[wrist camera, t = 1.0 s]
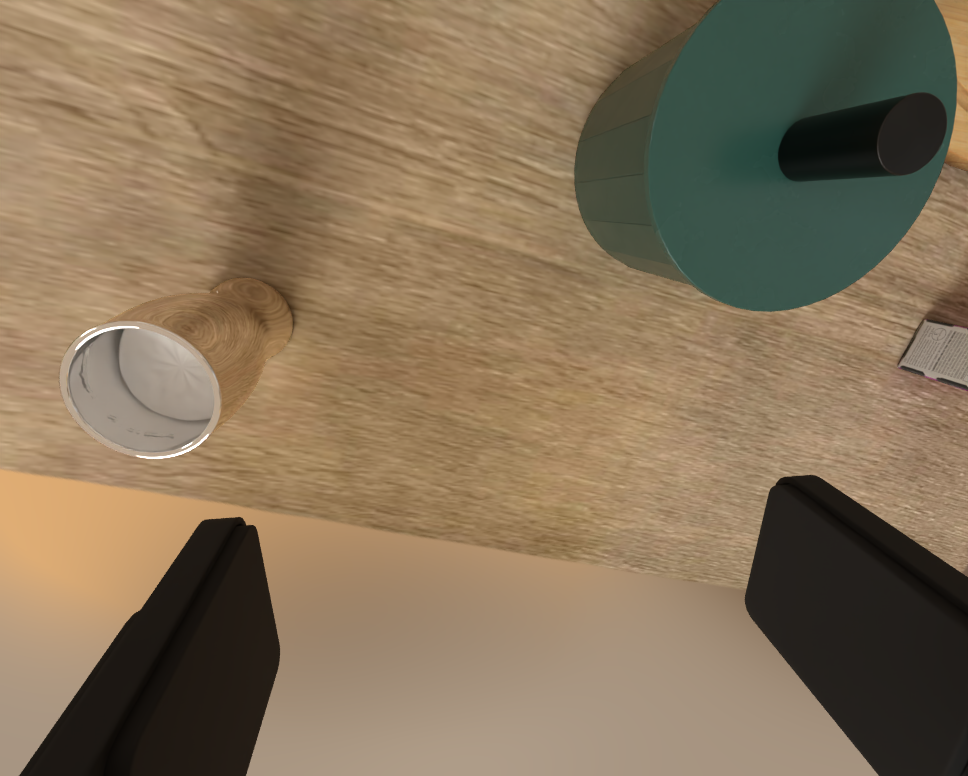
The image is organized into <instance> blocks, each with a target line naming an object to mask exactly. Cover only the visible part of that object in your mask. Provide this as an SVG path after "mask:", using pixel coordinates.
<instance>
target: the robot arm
mask: <svg viewBox="0 0 968 776" xmlns="http://www.w3.org/2000/svg"><path fill="white" fill-rule="evenodd" d="M745 604H746V608H747V611H748V613H749V615H750V617H751V618H752V619H753V621H754V622H755V623H756V624H757V625H758V627H759V628H760V629H761V630H762V632H763V633H764V634H765V636H766V637H767V638H768V639H769V641H770V642H771V643H772V644H773V645H774V647H775V648H776V649H777V650H778V651H779V653H780V654H781V655H782V657H783V658H784V659H785V660H786V661H787V663H788V664H789V665H790V666H791V667H792V669H793V670H794V671H795V673H796V674H797V675H798V676H799V678H800V679H801V680H802V681H803V682H804V684H805V685H806V686H807V687H808V689H809V690H810V691H811V692H812V694H813V695H814V696H815V697H816V698H817V700H818V701H819V702H820V703H821V705H822V706H823V707H824V708H825V710H826V711H827V712H828V713H829V715H830V716H831V717H832V718H833V719H834V720H835V722H836V723H837V724H838V726H839V727H840V728H841V729H842V731H843V732H844V733H845V734H846V735H847V737H848V738H849V739H850V740H851V742H852V743H853V744H854V745H855V747H856V748H857V749H858V750H859V751H860V753H861V754H862V755H863V757H864V758H865V759H866V760H867V761H868V763H869V764H870V765H871V766H872V768H873V769H874V770H875V771H876V773H877V774H878V775H879V776H968V577H967V576H965V575H964V574H962V573H961V572H959V571H958V570H956V569H955V568H953V567H952V566H950V565H949V564H947V563H946V562H944V561H943V560H941V559H940V558H939V557H937V556H936V555H934V554H933V553H931V552H930V551H928V550H927V549H925V548H924V547H922V546H921V545H919V544H918V543H916V542H915V541H913V540H912V539H910V538H909V537H907V536H906V535H904V534H903V533H901V532H900V531H899V530H897V529H896V528H894V527H893V526H891V525H890V524H888V523H887V522H885V521H884V520H882V519H881V518H879V517H878V516H876V515H875V514H873V513H872V512H870V511H869V510H867V509H866V508H864V507H863V506H861V505H860V504H859V503H857V502H856V501H854V500H853V499H851V498H850V497H848V496H847V495H845V494H844V493H842V492H841V491H839V490H838V489H836V488H835V487H833V486H832V485H830V484H829V483H827V482H826V481H824V480H823V479H821V478H820V477H817V476H815V475H805V476H792V477H783V478H781V479H779V481H778V482H777V483H776V486H773V487H772V488H771V489H770V492H769V495H768V499H767V504H766V508H765V512H764V517H763V521H762V525H761V530H760V534H759V538H758V542H757V547H756V551H755V555H754V560H753V564H752V568H751V573H750V577H749V581H748V586H747V590H746V595H745ZM279 659H280V645H279V639H278V635H277V629H276V624H275V619H274V614H273V609H272V604H271V599H270V593H269V589H268V583H267V578H266V573H265V568H264V563H263V557H262V553H261V547H260V543H259V537H258V532H257V529H256V527H255V526H254V525H246V523H245V521H244V520H243V518H241V517H235V518H221V519H209V520H204V521H202V522H201V523H200V524H199V526H198V527H197V528H196V530H195V531H194V533H193V534H192V536H191V537H190V539H189V540H188V542H187V543H186V544H185V546H184V548H183V549H182V550H181V552H180V553H179V555H178V556H177V558H176V559H175V560H174V562H173V564H172V565H171V566H170V568H169V569H168V571H167V572H166V574H165V575H164V577H163V578H162V580H161V581H160V582H159V584H158V585H157V587H156V588H155V590H154V591H153V593H152V594H151V596H150V597H149V599H148V600H147V601H146V603H145V604H144V606H143V607H142V609H141V610H140V611H138V612H136V613H135V614H133V615H132V616H131V618H130V619H129V620H128V621H127V622H126V623H125V625H124V626H123V628H122V629H121V631H120V632H119V633H118V635H117V636H116V638H115V639H114V641H113V642H112V643H111V645H110V646H109V648H108V649H107V651H106V652H105V653H104V655H103V656H102V658H101V659H100V661H99V662H98V664H97V665H96V666H95V668H94V669H93V671H92V672H91V674H90V675H89V676H88V678H87V679H86V681H85V682H84V684H83V685H82V686H81V688H80V689H79V691H78V692H77V694H76V695H75V696H74V698H73V699H72V701H71V702H70V704H69V705H68V707H67V708H66V710H65V711H64V712H63V714H62V715H61V717H60V718H59V719H58V721H57V722H56V724H55V725H54V727H53V728H52V729H51V731H50V732H49V734H48V735H47V737H46V738H45V739H44V741H43V742H42V744H41V745H40V747H39V748H38V750H37V751H36V752H35V754H34V755H33V757H32V758H31V759H30V761H29V762H28V764H27V765H26V767H25V768H24V770H23V771H22V772H21V774H20V775H19V776H246V774H247V770H248V767H249V763H250V760H251V757H252V753H253V750H254V747H255V744H256V740H257V737H258V733H259V730H260V727H261V724H262V720H263V717H264V714H265V710H266V707H267V704H268V700H269V697H270V694H271V690H272V687H273V684H274V681H275V677H276V674H277V670H278V666H279Z"/></svg>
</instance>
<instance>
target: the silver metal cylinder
mask: <svg viewBox="0 0 968 776" xmlns="http://www.w3.org/2000/svg"><path fill="white" fill-rule="evenodd" d="M292 330H293V319H292V314H291V311H290V308H289V306H288V304H287V302H286V301H285V299H284V298H283V297H282V295H281V294H280V293H279V292H278V291H277V290H275V289H274V288H273V287H271V286H270V285H268V284H266V283H264V282H262V281H259V280H256V279H252V278H233V279H229V280H226V281H224V282H222V283H220V284H219V285H217V286H216V287H215V288H214V289H213V290H212V291H211V292H210V293H188V294H178V295H170V296H165V297H162V298H158V299H155V300H152V301H148V302H145V303H142V304H140V305H138V306H135V307H133V308H131V309H128V310H126V311H124V312H122V313H120V314H119V315H117V316H115V317H113V318H111V319H109V320H108V321H106V322H104V323H102V324H100V325H98V326H95V327H93V328H91V329H89V330H87V331H85V332H84V333H82V334H81V335H80V336H79V337H77V338H76V339H75V340H74V341H73V342H72V344H71V345H70V346H69V347H68V349H67V351H66V352H65V354H64V356H63V359H62V362H61V365H60V371H59V384H60V391H61V394H62V398H63V401H64V403H65V405H66V407H67V409H68V411H69V413H70V414H71V416H72V417H73V419H74V420H75V421H76V422H77V424H78V425H79V426H80V427H81V428H82V429H83V430H84V431H85V432H86V433H87V434H89V435H90V436H91V437H92V438H94V439H95V440H96V441H98V442H99V443H101V444H103V445H105V446H106V447H108V448H110V449H113V450H115V451H117V452H120V453H123V454H126V455H130V456H134V457H139V458H148V459H161V458H169V457H174V456H178V455H181V454H184V453H187V452H189V451H191V450H193V449H194V448H196V447H198V446H199V445H200V444H202V443H203V442H204V441H205V440H206V439H207V438H208V437H209V436H210V435H211V434H212V433H213V432H215V431H216V430H217V429H218V428H219V427H221V426H222V425H223V424H224V423H225V422H226V421H228V420H229V419H230V418H231V417H232V416H233V415H234V414H235V413H236V412H237V411H238V410H239V409H240V408H241V407H242V405H243V404H244V403H245V402H246V400H247V399H248V398H249V396H250V395H251V394H252V392H253V391H254V389H255V387H256V385H257V383H258V381H259V379H260V377H261V375H262V372H263V369H264V366H265V363H266V360H267V359H269V358H271V357H273V356H274V355H276V354H278V353H279V352H280V351H281V350H282V349H283V348H284V347H285V346H286V345H287V343H288V342H289V340H290V337H291V334H292Z"/></svg>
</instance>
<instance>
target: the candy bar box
mask: <svg viewBox="0 0 968 776" xmlns="http://www.w3.org/2000/svg"><path fill="white" fill-rule="evenodd" d="M898 368H900V369H903V370H906V371H909V372H912V373H915V374H918V375H921V376H924V377H927V378H930V379H933V380H936V381H939V382H942V383H945V384H948V385H951V386H954V387H957V388H960V389H963V390H966V391H968V328H966V327H962V326H957V325H952V324H947V323H943V322H938V321H933V320H928V319H925V320H923V322H922V323H921V325H920V326H919V328H918V329H917V331H916V333H915V335H914V337H913V339H912V341H911V343H910V345H909V347H908V349H907V350H906V352H905V354H904V355H903V357H902V359H901V361H900V363H899V365H898Z"/></svg>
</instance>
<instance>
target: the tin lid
mask: <svg viewBox="0 0 968 776" xmlns="http://www.w3.org/2000/svg"><path fill="white" fill-rule="evenodd" d="M956 106H957V72H956V61H955V55H954V50H953V46H952V41H951V37H950V34H949V31H948V28H947V26H946V23H945V20H944V18H943V15H942V14H941V12H940V10H939V8H938V6H937V4H936V3H935V1H934V0H719V1H717V2H716V3H715V4H714V5H713V6H712V7H711V8H710V9H709V10H708V11H707V12H706V14H705V15H704V16H703V17H702V18H701V20H700V21H699V22H698V23H697V24H696V26H695V27H694V28H693V29H692V30H691V32H690V33H689V35H688V36H687V38H686V39H685V41H684V42H683V44H682V45H681V47H680V48H679V50H678V51H677V53H676V55H675V57H674V59H673V61H672V63H671V65H670V66H669V68H668V70H667V72H666V74H665V76H664V79H663V81H662V84H661V86H660V89H659V92H658V94H657V97H656V99H655V102H654V106H653V110H652V113H651V117H650V121H649V125H648V130H647V137H646V143H645V149H644V172H643V175H644V188H645V198H646V203H647V208H648V213H649V218H650V221H651V224H652V227H653V230H654V232H655V235H656V238H657V240H658V242H659V244H660V246H661V248H662V250H663V252H664V254H665V255H666V257H667V258H668V260H669V261H670V262H671V264H672V265H673V267H674V268H675V269H676V271H677V272H678V273H679V274H680V275H681V276H682V277H683V278H684V279H685V280H686V281H687V282H688V283H689V284H691V285H692V286H693V287H695V288H696V289H697V290H698V291H700V292H701V293H703V294H705V295H707V296H708V297H710V298H712V299H714V300H716V301H719V302H722V303H724V304H727V305H730V306H733V307H736V308H741V309H746V310H751V311H769V312H772V311H782V310H790V309H794V308H799V307H803V306H807V305H810V304H812V303H815V302H818V301H821V300H823V299H826V298H828V297H830V296H832V295H834V294H836V293H838V292H840V291H842V290H843V289H845V288H847V287H848V286H850V285H851V284H853V283H854V282H856V281H857V280H859V279H860V278H861V277H863V276H864V275H865V274H866V273H868V272H869V271H870V270H871V269H873V268H874V267H875V266H876V265H877V264H878V263H879V262H880V261H881V260H882V259H884V258H885V257H886V256H887V255H888V254H889V253H890V252H891V251H892V250H893V248H894V247H895V246H896V245H897V244H898V242H899V241H900V240H901V239H902V238H903V237H904V235H905V234H906V233H907V231H908V230H909V229H910V227H911V226H912V224H913V223H914V221H915V220H916V219H917V217H918V216H919V214H920V212H921V211H922V209H923V207H924V205H925V204H926V202H927V200H928V198H929V197H930V195H931V193H932V190H933V188H934V186H935V184H936V182H937V179H938V177H939V175H940V173H941V170H942V167H943V164H944V161H945V158H946V155H947V152H948V149H949V145H950V140H951V136H952V132H953V128H954V121H955V113H956Z"/></svg>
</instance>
